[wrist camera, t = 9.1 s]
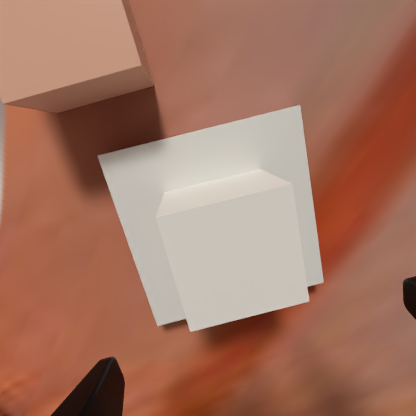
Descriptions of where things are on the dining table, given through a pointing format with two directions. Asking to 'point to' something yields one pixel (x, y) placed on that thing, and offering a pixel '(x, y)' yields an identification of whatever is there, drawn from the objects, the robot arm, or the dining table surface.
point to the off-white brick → (233, 247)
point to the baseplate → (201, 173)
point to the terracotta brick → (69, 53)
